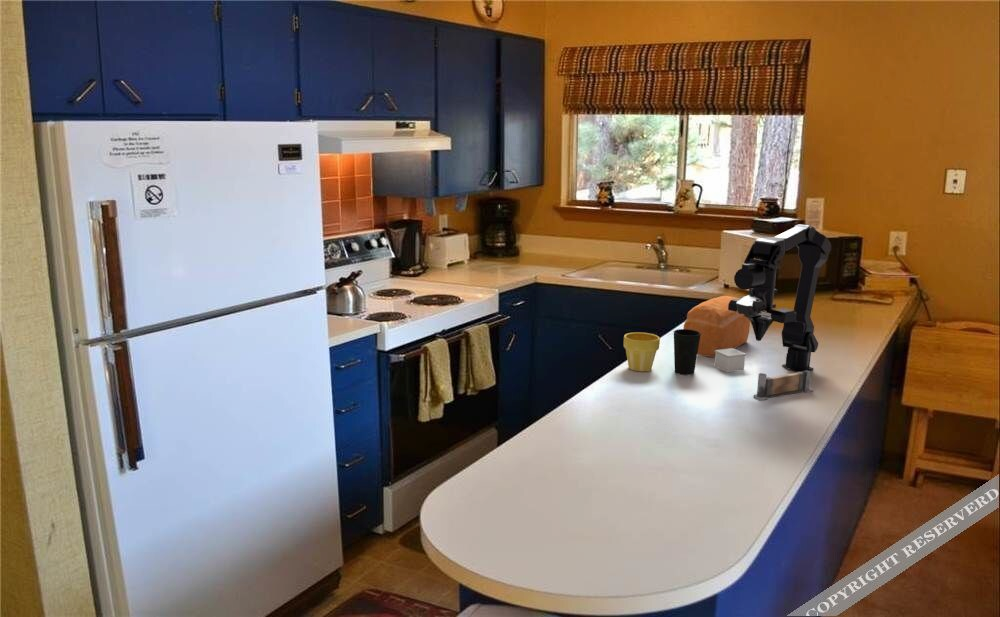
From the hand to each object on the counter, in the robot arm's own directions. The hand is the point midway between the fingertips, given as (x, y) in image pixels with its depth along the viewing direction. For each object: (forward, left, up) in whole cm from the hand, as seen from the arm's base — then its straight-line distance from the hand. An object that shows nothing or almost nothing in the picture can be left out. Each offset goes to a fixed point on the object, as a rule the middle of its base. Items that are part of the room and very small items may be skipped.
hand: (758, 340), depth 227 cm
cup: (+12, -16, -13) cm, 24 cm away
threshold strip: (-1, +10, -12) cm, 16 cm away
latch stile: (-9, +10, -12) cm, 18 cm away
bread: (-15, -35, -13) cm, 40 cm away
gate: (-1, +10, -12) cm, 15 cm away
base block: (-3, -15, -13) cm, 19 cm away
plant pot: (+22, -24, -13) cm, 35 cm away
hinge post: (+7, +10, -12) cm, 17 cm away
